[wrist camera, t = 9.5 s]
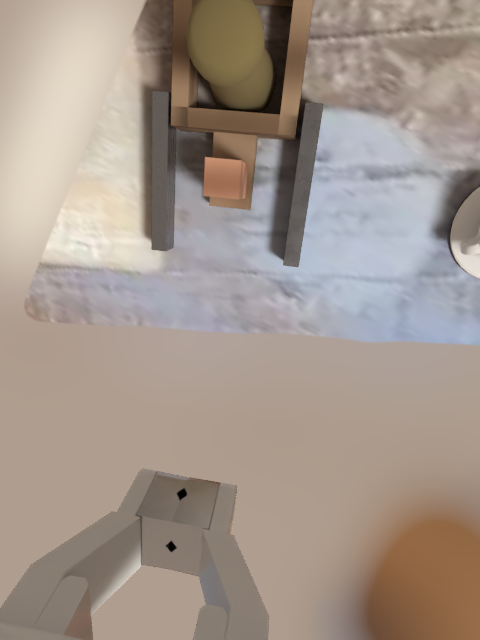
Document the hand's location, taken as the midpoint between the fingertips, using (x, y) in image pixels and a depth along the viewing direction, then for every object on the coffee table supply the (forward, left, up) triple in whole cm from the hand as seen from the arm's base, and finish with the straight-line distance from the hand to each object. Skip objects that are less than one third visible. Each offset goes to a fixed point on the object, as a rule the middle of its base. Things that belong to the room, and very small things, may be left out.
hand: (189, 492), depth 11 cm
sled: (-16, -4, -29) cm, 33 cm away
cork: (-18, -4, -29) cm, 35 cm away
